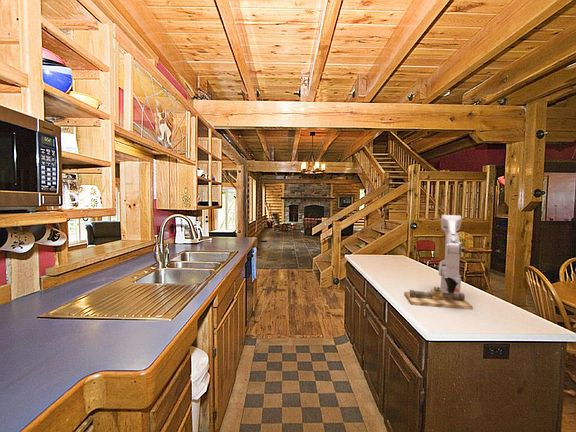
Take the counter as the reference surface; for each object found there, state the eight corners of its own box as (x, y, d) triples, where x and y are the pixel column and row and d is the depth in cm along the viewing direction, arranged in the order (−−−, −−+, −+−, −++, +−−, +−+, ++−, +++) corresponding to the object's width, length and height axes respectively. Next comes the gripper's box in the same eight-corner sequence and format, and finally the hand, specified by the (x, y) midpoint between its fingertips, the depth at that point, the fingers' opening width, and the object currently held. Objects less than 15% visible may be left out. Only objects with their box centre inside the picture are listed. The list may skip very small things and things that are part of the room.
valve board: (459, 298, 160) (460, 287, 159) (472, 309, 144) (473, 297, 143) (404, 294, 164) (404, 284, 164) (411, 304, 149) (411, 293, 148)
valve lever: (434, 290, 153) (435, 287, 153) (433, 289, 155) (433, 286, 155) (458, 292, 151) (458, 289, 151) (457, 290, 153) (457, 288, 153)
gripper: (468, 270, 142) (466, 298, 143) (454, 263, 157) (452, 289, 157) (452, 269, 143) (451, 297, 144) (440, 263, 157) (438, 288, 158)
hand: (451, 293), depth 151 cm, fingers closed
